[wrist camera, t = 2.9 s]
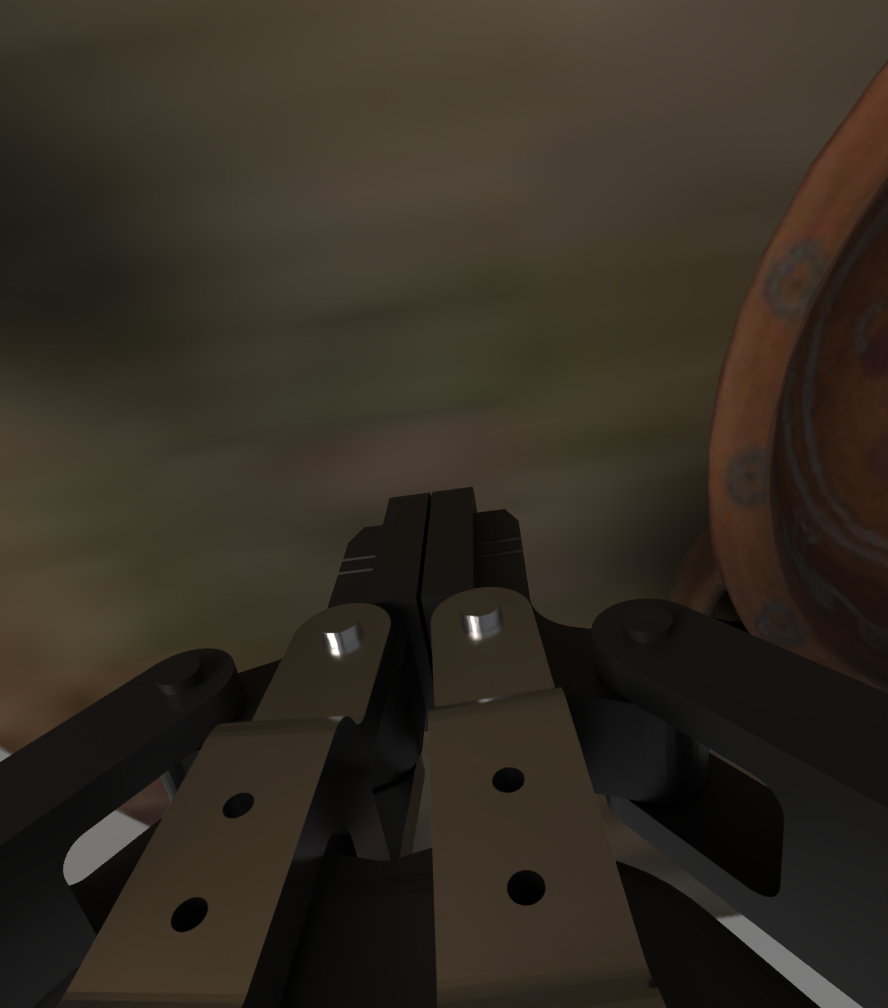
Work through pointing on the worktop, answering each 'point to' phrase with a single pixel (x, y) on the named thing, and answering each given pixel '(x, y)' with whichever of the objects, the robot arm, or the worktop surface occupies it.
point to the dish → (809, 422)
